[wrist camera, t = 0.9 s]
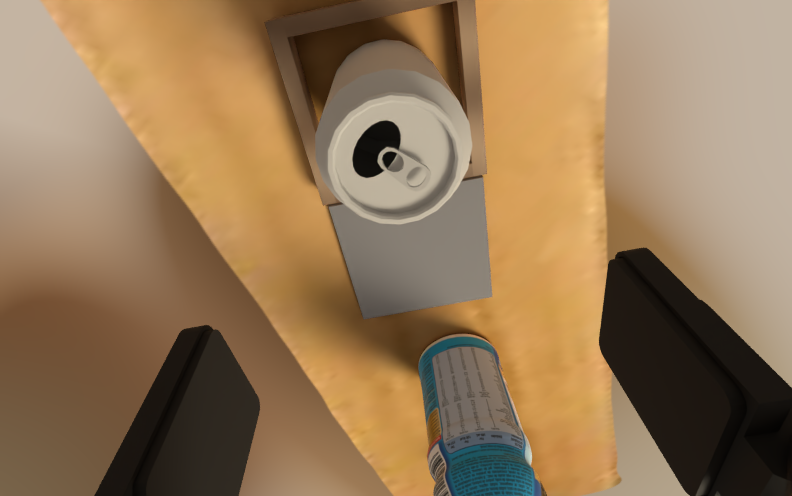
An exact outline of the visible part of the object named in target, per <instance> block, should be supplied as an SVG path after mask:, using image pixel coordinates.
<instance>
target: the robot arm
mask: <svg viewBox="0 0 792 496" xmlns="http://www.w3.org/2000/svg"><path fill="white" fill-rule="evenodd" d="M599 346H600V350H601V352H602V355H603V357H604V358H605V360H606V362H607V363H608V365H609V367H610V368H611V370H612V371H613V373H614V375H615V376H616V378H617V380H618V381H619V383H620V385H621V386H622V388H623V390H624V391H625V393H626V394H627V396H628V398H629V400H630V401H631V403H632V405H633V406H634V408H635V409H636V411H637V413H638V414H639V416H640V418H641V419H642V421H643V423H644V424H645V426H646V428H647V429H648V431H649V432H650V434H651V436H652V438H653V439H654V441H655V443H656V444H657V446H658V448H659V449H660V451H661V453H662V454H663V456H664V458H665V459H666V461H667V463H668V464H669V466H670V468H671V469H672V471H673V472H674V474H675V476H676V477H677V479H678V481H679V482H680V484H681V486H682V487H683V489H684V490H685V492H686V493H687V494H689V495H690V496H792V388H791V387H790V386H789V385H788V384H787V383H786V382H785V381H784V380H783V379H782V378H781V377H780V376H779V375H778V374H777V373H776V372H775V371H774V370H773V369H772V368H771V367H770V366H769V365H768V364H767V363H766V362H765V361H764V360H763V359H762V358H761V357H760V356H759V355H758V354H757V353H756V352H755V351H754V350H753V349H752V348H751V347H750V346H749V345H748V344H747V343H746V342H745V341H744V340H743V339H742V338H741V337H740V336H738V334H737V333H736V332H734V330H733V329H732V328H731V327H730V326H729V325H728V324H727V323H726V322H725V321H724V320H722V319H721V317H720V316H718V315H717V313H716V312H715V311H714V310H713V309H711V307H709V306H708V305H707V304H706V303H705V302H703V301H702V300H699V299H698V298H697V297H696V296H695V295H694V294H693V293H692V292H691V291H690V290H689V289H688V288H687V287H686V286H685V285H684V284H683V283H682V282H681V281H680V280H679V279H678V278H677V277H676V276H675V275H674V274H673V273H672V272H671V271H670V270H669V269H668V268H667V267H666V266H665V265H664V264H663V263H662V262H661V261H660V260H659V259H658V258H657V257H656V256H655V255H654V254H653V253H652V252H651V251H650V250H649V249H647V248H639V249H633V250H627V251H622V252H618V253H617V254H616V257H615V259H613V260H610V261H609V264H608V271H607V279H606V287H605V295H604V303H603V311H602V320H601V328H600V336H599ZM259 411H260V402H259V398H258V396H257V394H256V393H255V391H254V389H253V388H252V386H251V384H250V383H249V381H248V379H247V377H246V376H245V374H244V372H243V370H242V369H241V367H240V365H239V364H238V362H237V360H236V359H235V357H234V355H233V353H232V352H231V350H230V348H229V347H228V345H227V343H226V341H225V340H224V338H223V336H222V335H221V333H220V332H219V331H218V330H213V329H212V328H211V327H210V326H209V325H204V326H199V327H194V328H187V329H184V330H182V331H181V332H180V333H179V335H178V337H177V339H176V341H175V343H174V345H173V346H172V348H171V350H170V352H169V354H168V356H167V358H166V360H165V362H164V364H163V366H162V368H161V369H160V371H159V373H158V375H157V377H156V379H155V381H154V383H153V385H152V387H151V389H150V390H149V392H148V394H147V396H146V398H145V400H144V402H143V404H142V406H141V408H140V410H139V411H138V413H137V415H136V417H135V419H134V421H133V423H132V425H131V427H130V429H129V431H128V432H127V434H126V436H125V438H124V440H123V442H122V444H121V446H120V448H119V450H118V452H117V453H116V455H115V457H114V460H113V461H112V463H111V465H110V467H109V469H108V471H107V473H106V475H105V476H104V479H103V480H102V482H101V484H100V486H99V488H98V490H97V492H96V494H95V496H239V492H240V487H241V483H242V480H243V475H244V472H245V468H246V464H247V460H248V456H249V452H250V448H251V443H252V440H253V436H254V432H255V428H256V424H257V420H258V416H259Z"/></svg>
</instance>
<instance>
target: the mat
mask: <svg viewBox="0 0 792 496" xmlns="http://www.w3.org/2000/svg"><path fill="white" fill-rule="evenodd" d="M329 210H330V213H331V216H332V219H333V223H334V226H335V229H336V232H337V235H338V239H339V242H340V245H341V248H342V251H343V255H344V258H345V261H346V264H347V267H348V271H349V274H350V277H351V280H352V283H353V287H354V290H355V293H356V296H357V299H358V303H359V306H360V309H361V312H362V316H363V319H369V318H374V317H380V316H386V315H392V314H397V313H403V312H409V311H414V310H420V309H426V308H432V307H437V306H443V305H449V304H454V303H460V302H466V301H471V300H477V299H483V298H489V297H492V287H491V274H490V261H489V248H488V234H487V221H486V208H485V195H484V182H483V176H482V175H481V176H476V177H470V178H465V179H462V181H461V183H460V185H459V186H458V188H457V190H456V191H455V192H454V193H453V195H452V196H451V197H450V198H449V199H448V200H447V201H446V202H445V203H444V204H443V205H442V206H441V207H440V208H439V209H438V210H437V211H435V212H434V213H432V214H430V215H428V216H426V217H424V218H422V219H421V220H418V221H413V222H409V223H404V224H382V223H377V222H374V221H371V220H369V219H366V218H363V217H360V216H359V215H358V214H356V213H355V212H353V211H352V210H351V209H349V208H348V207H346V206H345V205H344V204H343V203H342V202H341V203H335V204H330V205H329Z"/></svg>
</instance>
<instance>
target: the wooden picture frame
mask: <svg viewBox="0 0 792 496" xmlns="http://www.w3.org/2000/svg"><path fill="white" fill-rule="evenodd" d="M448 2H452V8H453V18H454V29H455V39H456V49H457V60H458V70H459V80H460V91H461V101H462V109H463V111H464V113H465V115H466V117H467V119H468V121H469V124H470V132H471V140H472V151H471V156H470V161H469V166H468V170H467V172H466V174H465V175H464V177H463V178H468V177H474V176H479V175H484V174H487V164H486V150H485V135H484V121H483V107H482V93H481V79H480V64H479V50H478V36H477V22H476V7H475V0H354V1H350V2H345V3H341V4H336V5H332V6H327V7H323V8H318V9H314V10H309V11H305V12H300V13H296V14H291V15H287V16H282V17H277V18H273V19H270V20H268V21H266V22H265V26H266V29H267V32H268V35H269V38H270V41H271V44H272V47H273V51H274V54H275V57H276V60H277V63H278V66H279V69H280V72H281V76H282V79H283V82H284V85H285V88H286V91H287V94H288V97H289V101H290V104H291V107H292V110H293V113H294V116H295V119H296V122H297V126H298V129H299V132H300V135H301V138H302V141H303V144H304V147H305V151H306V154H307V157H308V160H309V163H310V166H311V169H312V172H313V176H314V179H315V182H316V185H317V188H318V191H319V194H320V197H321V201H322V204H323V205H328V204H333V203H339V202H340V201H339V200H337V198H336V197H335V196H334V195H333V193H332V192H331V191H330V189H329V188H328V187H327V185H326V184H325V183H324V181H323V179H322V176H321V173H320V170H319V167H318V165H317V162H316V152H315V134H316V131H317V128H318V125H319V123H318V120H317V116H316V113H315V109H314V106H313V102H312V99H311V96H310V92H309V89H308V85H307V82H306V78H305V75H304V72H303V68H302V65H301V61H300V58H299V54H298V51H297V47H296V44H295V41H294V37H293V36H297V35H301V34H306V33H311V32H315V31H320V30H324V29H329V28H333V27H338V26H343V25H347V24H352V23H356V22H361V21H366V20H370V19H375V18H379V17H384V16H389V15H393V14H398V13H402V12H407V11H411V10H416V9H421V8H425V7H430V6H434V5H439V4H444V3H448Z"/></svg>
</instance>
